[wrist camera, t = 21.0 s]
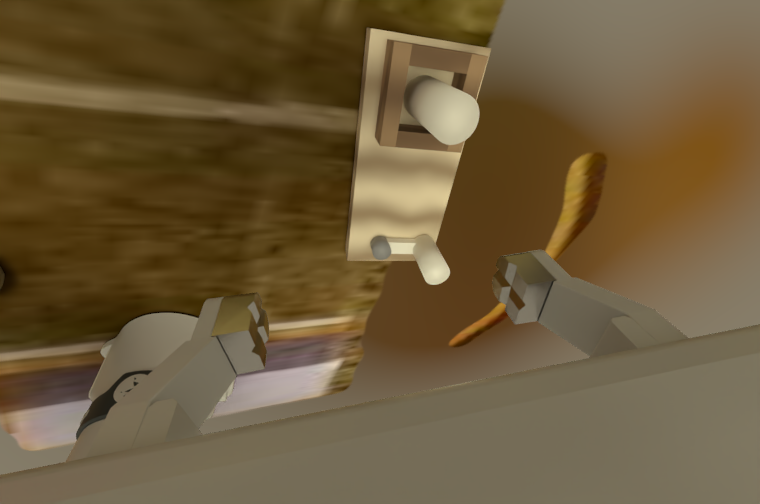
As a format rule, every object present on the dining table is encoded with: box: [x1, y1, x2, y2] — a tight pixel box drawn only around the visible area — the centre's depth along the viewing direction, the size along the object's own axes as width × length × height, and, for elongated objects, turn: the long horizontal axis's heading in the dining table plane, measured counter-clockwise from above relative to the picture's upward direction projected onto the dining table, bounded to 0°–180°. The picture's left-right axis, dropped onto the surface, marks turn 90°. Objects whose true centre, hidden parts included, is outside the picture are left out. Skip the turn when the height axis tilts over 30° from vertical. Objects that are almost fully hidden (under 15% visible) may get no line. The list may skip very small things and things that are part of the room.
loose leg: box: [403, 75, 479, 145], centre depth 29 cm, size 4×4×9 cm
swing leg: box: [370, 235, 450, 285], centre depth 41 cm, size 9×3×6 cm, turn 81°
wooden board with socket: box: [345, 28, 491, 261], centre depth 37 cm, size 26×12×5 cm, turn 172°
